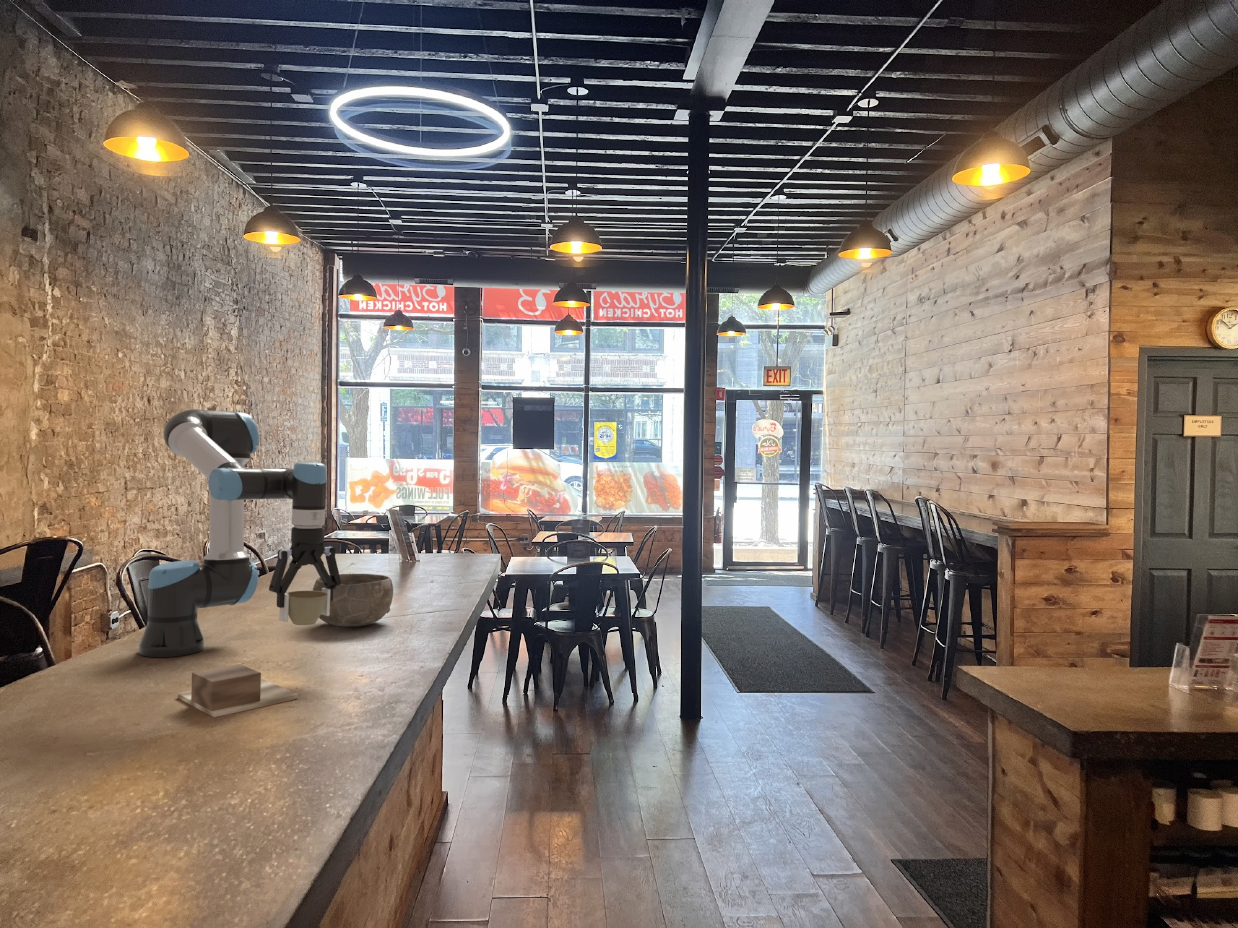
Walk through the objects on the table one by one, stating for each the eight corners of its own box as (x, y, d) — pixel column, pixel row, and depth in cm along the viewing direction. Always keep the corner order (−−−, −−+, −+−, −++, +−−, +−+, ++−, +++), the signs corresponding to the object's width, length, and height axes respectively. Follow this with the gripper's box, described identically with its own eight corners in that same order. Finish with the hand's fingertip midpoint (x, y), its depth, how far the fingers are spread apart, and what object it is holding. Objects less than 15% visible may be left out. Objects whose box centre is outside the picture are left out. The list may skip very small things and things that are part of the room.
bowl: (409, 624, 255) (410, 577, 255) (346, 638, 234) (347, 586, 234) (358, 614, 268) (359, 569, 267) (294, 626, 247) (295, 577, 247)
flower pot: (311, 629, 189) (312, 599, 189) (273, 625, 191) (274, 595, 191) (334, 620, 199) (335, 592, 198) (298, 617, 201) (299, 588, 200)
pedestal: (191, 700, 170) (192, 672, 170) (238, 690, 178) (239, 663, 177) (211, 711, 163) (212, 681, 163) (260, 700, 171) (260, 672, 171)
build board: (177, 697, 174) (177, 693, 174) (259, 681, 188) (259, 677, 188) (213, 717, 163) (213, 712, 163) (298, 698, 177) (298, 693, 177)
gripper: (270, 530, 183) (266, 627, 184) (358, 525, 200) (354, 614, 201) (254, 527, 188) (251, 621, 188) (342, 522, 205) (338, 609, 206)
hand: (304, 617), depth 195 cm, fingers closed on flower pot, 10 cm apart
